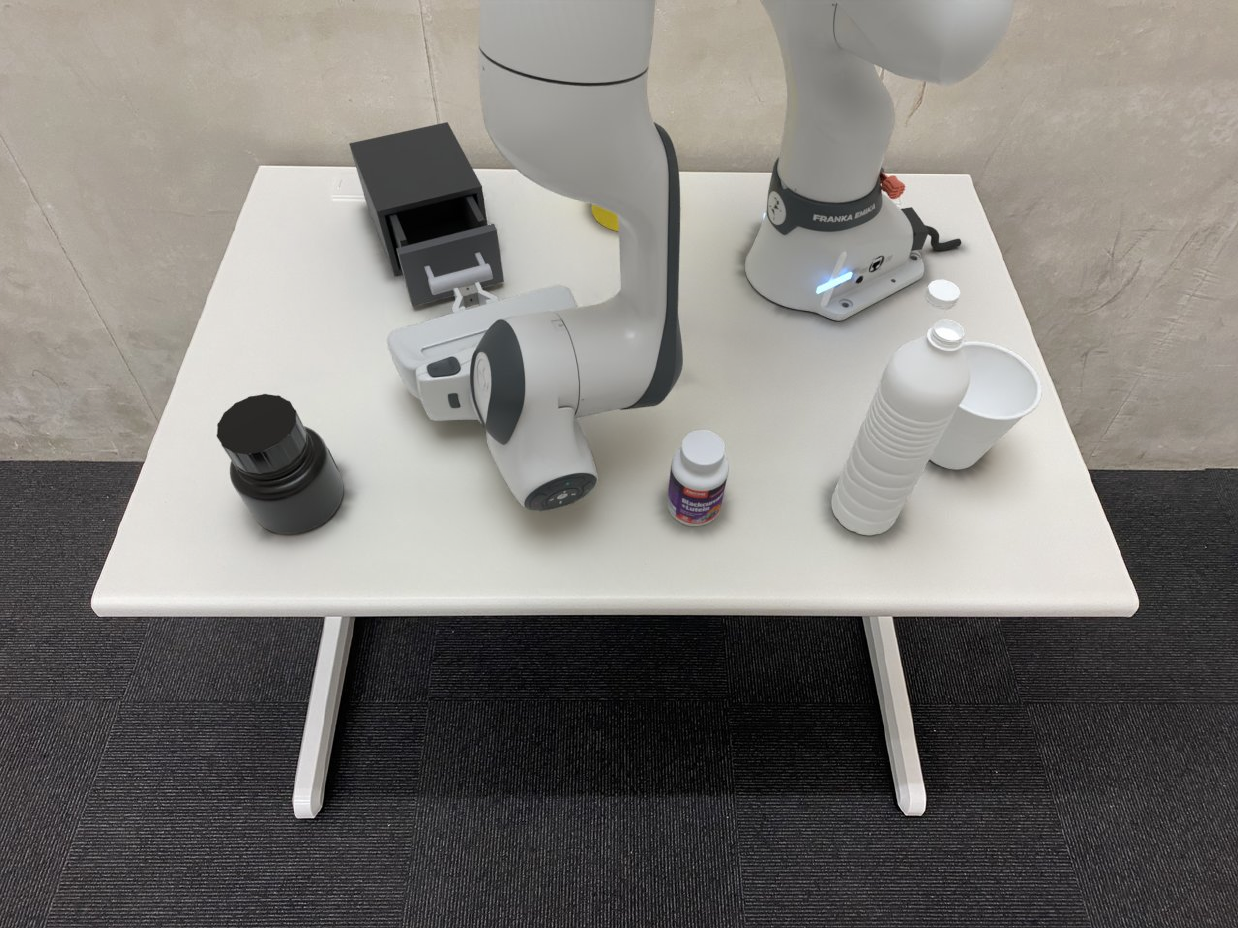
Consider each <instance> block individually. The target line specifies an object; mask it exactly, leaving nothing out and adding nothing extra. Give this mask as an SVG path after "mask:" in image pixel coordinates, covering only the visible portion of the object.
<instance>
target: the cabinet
mask: <svg viewBox="0 0 1238 928" xmlns="http://www.w3.org/2000/svg"><path fill="white" fill-rule="evenodd" d="M348 145H349V148H350V151H351V155H352V158H353V163H354V165H355V169H356V173H357V175H358V179H359V182H360V186H361V189H362V193H363V196H364V200H365V203H366V207H367V210H368V212H369V215H370V218H371V220H372V222H373V225H374V228H375V231H376V234H377V235H378V237H379V240H380V243H381V245H382V248H383V251H384V253H385V256H386V258H387V261H388V263H389V266H390V269H391V271H392V273H393V276H394V277H396V276H401V275H403V272H402V268H401V265H400V261H399V257H398V253H397V250H396V248H395V245H394V243H393V241H392V238H391V236H390V232H389V228H388V225H387V221H386V217H385V215H388V214H392V213H396V212H400V211H404V210H409V209H413V208H417V207H421V206H425V205H429V204H433V203H438V202H442V201H446V200H450V199H454V198H458V197H462V196H466V195H471V194H472V196H473V198H474V200H475V202H476V204H477V206H478V208H479V210H480V212H481V214H482V216H483V218H484V219H485V225H486V226H487V225H489V224H488V218H487V211H486V205H485V198H484V191H483V185H482V183H481V181H480V180H479V178H478V176H477V174H476V172H475V170H474V168H473V166H472V165H471V163H470V161H469V159H468V157H467V156H466V154H465V152H464V150H463V148H462V146H461V145H460V142H459V141H458V138H457V137H456V135H455V133H454V132H453V129H452V127H451V125H450V124H449V122H448V121H446V122H442V123H437V124H431V125H427V126H423V127H418V128H413V129H410V130H405V131H400V132H395V133H391V134H386V135H382V136H381V135H380V136H376V137H372V138H368V139H363V140H358V141H354V142H350V143H349V144H348Z"/></svg>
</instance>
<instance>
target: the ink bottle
mask: <svg viewBox="0 0 1238 928" xmlns="http://www.w3.org/2000/svg"><path fill="white" fill-rule="evenodd" d="M216 425H217V426H216V427H217V430H216V438H217V440H218V441H219V443H220V444H221V447H222V448H223V450H224V451H225V453H226V455H227V456H228V457H229V460H230V463H229V477H230V481H231V484H232V486H233V488H234V489H235V491H236V493H237V494H238V495H239V498H241V500H242V501H243V503H244V504H245V506H246V507H247V509H248V510H249V512H250V513H251V515H252V516H253V518H254V519H255V520H256V522H257V523H258V524H259V525H260V526H261V527H262V528H264V529H266V530H268V531H270V532H272V533H276V534H283V535H284V534H285V535H287V534H288V535H291V534H299V533H304V532H307V531H310V530H313V529H315V528H317V527H319V526H321V525H323V524H324V523H326V522H327V521H328V520H330V518H332V516H333V515H334V514H335V513H336V511H337V510H338V508H339V506H340V504H341V502H342V499H343V496H344V495H343V494H344V483H343V479H342V476H341V474H340V470H339V467H338V465H337V464H336V461H335V459H334V457H333V455H332V452H331V450H330V449H329V448H328V446H327V445H326V443H325V441H324V439H323V437H321V435H320V434H319V433H317V432H316V431H315V430H314V429H312V428H310V427H308V426H305V425H304V424H303V422H302V419H301V418H300V416H299V413H298V412H297V410H296V409H295V408H294V406H293V404H292V402H291V401H290V400H287V399H286V398H284V397H282V396H281V395H275V394H269V393H263V394H256V395H250V396H247V397H246V398H244V399H242V400H240V401H236V402H235V403H234V404H233V405H231V406H230V407H229V408H228V409H227V410H225V411H224V412H223V413H222V415H221V417H220V419H219V421H218V422H217V424H216Z"/></svg>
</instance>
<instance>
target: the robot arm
mask: <svg viewBox="0 0 1238 928" xmlns="http://www.w3.org/2000/svg"><path fill="white" fill-rule="evenodd" d="M1014 1H1015V0H759V2H760V3H761V5H762V6H763V8H764V9H765V12H766V14H767V15H768V18H769V20H770V22H771V26H772V27H773V31H774V33H775V37H776V39H777V42H778V46H779V50H780V55H781V60H782V65H783V70H784V76H785V77H784V78H785V84H786V109H785V119H784V125H783V132H782V139H781V144H780V151H779V154H778V155H779V156H778V157H777V158H776V160H775V161H774V164H773V168H772V172H771V176H770V180H769V184H768V191H767V200H766V211H765V212H764V213H763V220H762V222H761V225H760V228H759V230H758V232H757V235H756V238H755V239H754V242H753V244H752V246H751V248H750V249H749V251H748V252H747V255H746V257H745V261H744V271H745V275H746V278H747V280H748V281H749V283H750V285H751V286H752V287H753V288H754V290H756V291H757V292H758V293H759V294H760V295H761V296H763V297H764V298H766V299H767V300H769V301H771V302H773V303H774V304H777V305H780V306H783V307H785V308H789V309H794V310H798V311H805V312H810V313H811V312H812V313H815V314H818V315H820V316H822V317H825V318H828V319H829V320H833V321H836V322H837V321H839V322H840V321H844V320H846V319H848V318H850V317H852V316H854V315H856V314H857V313H859V312H861V311H862V310H865V309H866V308H869V307H870V306H872V305H874V304H876V303H878V302H880V301H882V300H884V299H885V298H887V297H889V296H892V295H893V294H895V293H897V292H899V291H901V290H903V289H904V288H906V287H908V286H910V285H912V284H914V283H915V282H918V281H919V280H920V279H922V278H923V277H924V273H925V263H924V260H923V258H922V256H921V253H920V252H919V251H922V250H923V248H924V246H925V243H926V241H927V238H928V236H929V237H930V246H931V248H932V249H933V250H936V251H939V252H940V251H947V250H950V249H954V248H957V247H960V246H961V245H962V240H961V238H959V237H958V238H954V239H951V240H948V241H944V242H940V233H939V231H938V230H937V229H936V228H935V227H933V226H931V225H927V224H925V223H924V221H923V220H922V219H921V218H920V216H919V215H918V213H917V212H916V211H915V209H914V208H913V207H912V206H911V207H904V208H900V206H898V205H897V204H896V203H895V202H894V201H893V200H897V199H899V198H901V196H902V195H903V194H904V193H905V191H906V185H905V183H904V182H902V181H901V180H899V179H898V177H897V176H896V175H893V174H892V175H889V176H888V175H887V174H886V173H885V169H884V168H883V163H884V160H885V158H886V153H887V150H888V147H889V144H890V141H891V138H892V135H893V132H894V128H895V123H896V122H895V121H896V111H895V104H894V101H893V98H892V96H891V93H890V91H889V90H888V88H887V86H886V85H885V83H884V82H883V80H882V79H881V77H880V75H879V73H878V71H877V69H876V66H877V67H878V68H881V69H883V70H885V71H887V72H889V73H892V74H893V75H895V76H898V77H901V78H905V79H910V80H914V81H917V82H918V81H919V82H923V83H928V84H934V85H938V86H943V87H944V86H945V87H949V86H953V85H955V84H958V83H959V82H962V81H964V80H965V79H967V78H969V77H970V76H972V75H973V74H974V73H976V72H977V71H978V70H980V69H981V68H982V67H983V66H984V65H985V64H986V63H987V62H988V61H989V60H990V59H991V58H992V56H993V55H994V54H995V52H997V50H998V48H999V47H1000V46H1001V44H1002V42H1003V40H1004V38H1005V35H1006V34H1007V31H1008V29H1009V26H1010V24H1011V20H1012V15H1013V11H1014ZM478 5H479V7H478V31H477V32H478V33H477V34H478V39H477V71H478V72H477V73H478V75H477V76H478V88H479V90H478V91H479V101H480V107H481V114H482V120H483V124H484V127H485V130H486V132H487V133H488V136H489V138H490V140H491V141H492V143H493V145H494V147H495V149H497V151H498V152H499V153H500V155H501V156H502V157H503V158H504V159H505V161H506V162H507V163H508V164H509V165H510V166H511V167H512V168H514V170H516V171H517V172H518V173H520V174H521V175H523V176H524V177H525V178H527V179H528V180H529V181H531V182H532V183H535V184H536V185H538V186H540V187H542V188H544V189H545V190H547V191H549V192H551V193H554V194H557V195H559V196H561V197H565V198H568V199H571V200H574V201H578V202H582V203H586V204H589V205H591V204H592V205H595V206H598V207H601V208H603V209H606V210H608V211H610V212H613V213H615V214H617V217H618V226H619V231H618V249H619V250H618V251H619V252H618V253H619V272H620V274H619V275H620V276H619V277H620V289H619V290H618V291H617V292H616V294H614V295H613V296H612V297H610V298H609V299H607V300H605V301H603V302H601V303H596V304H591V305H585V306H578V305H577V302H576V299H575V296H574V294H573V293H572V290H571V289H570V288H569V287H567V286H565V285H562V284H554V285H551V286H546V287H543V288H540V289H536V290H531V291H528V292H525V293H522V294H518V295H514V296H511V297H507V298H504V299H499V298H498V296H497V295H495V294H492V293H491V292H489V291H487V290H483V288H481V285H480V283H479V282H477V283H473V284H470V285H466V286H462V287H458V288H454V289H453V291H454V296H453V297H454V299H455V300H454V302H453V305H452V307H451V312H452V313H450V314H445V315H442V316H439V317H434V318H431V319H428V320H424V321H421V322H417V323H413V324H409V325H406V326H402V327H398V328H395V329H393V330H391V331H390V332H389V334H388V335H387V337H386V344H387V348H388V351H389V354H390V356H391V360H392V362H393V365H394V367H395V370H396V371H397V374H398V376H399V377H400V379H401V381H402V383H403V384H404V386H405V388H406V389H407V390H408V392H409V393H410V394H411V395H412V396H413V397H414V398H416V399H418V400H420V403H421V405H422V407H423V410H424V411H425V413H426V415H427V417H428V418H429V420H431V421H434V422H444V421H462V420H463V421H466V420H469V421H470V420H471V421H478V422H479V423H480V424H481V425H482V427H483V429H484V430H485V433H486V435H485V438H486V443H487V446H488V449H489V451H490V453H491V456H492V458H493V460H494V462H495V464H496V467H497V469H498V471H499V472H500V475H501V476H502V478H503V480H504V482H505V484H506V485H507V487H508V489H509V490H510V492H511V493H512V495H513V496H514V498H515V499H516V500H517V501H518V502H519V504H520V505H521V506H522V507H524V508H525V509H527V510H529V511H537V512H544V511H550V510H555V509H559V508H563V507H566V506H569V505H572V504H575V503H576V502H578V501H580V500H581V499H583V498H584V497H586V496H588V494H589V493H590V492H591V491H592V490H593V489H594V488H595V487H596V485H597V483H598V480H599V479H598V478H599V477H598V471H597V467H596V463H595V460H594V457H593V455H592V452H591V448H590V446H589V443H588V440H587V438H586V436H585V433H584V431H583V429H582V426H581V424H580V422H579V420H578V418H584V417H588V416H593V415H598V414H603V413H607V412H612V411H617V410H621V411H624V410H633V409H642V408H650V407H657V406H658V405H660V404H662V403H663V402H664V401H665V399H666V398H667V397H668V396H669V394H670V393H671V392H672V390H673V389H674V387H675V385H676V384H677V382H678V381H679V378H680V375H681V372H682V370H683V362H684V355H683V351H684V350H683V343H682V342H683V341H682V334H681V327H680V320H679V319H680V318H679V291H680V290H679V288H680V287H679V285H680V248H681V247H680V245H681V182H680V170H679V163H678V162H679V161H678V157H677V153H676V149H675V145H674V143H673V140H672V138H671V136H670V135H669V133H668V132H667V130H666V129H665V128H664V127H662V126H661V125H660V124H658V123H657V122H656V121H654V120H653V115H652V113H651V109H650V103H649V94H648V77H649V68H650V67H649V66H650V61H651V60H650V59H651V53H652V52H651V51H652V44H653V34H654V22H655V13H656V11H655V10H656V0H479V4H478ZM883 192H884V193H883ZM477 305H479V306H477ZM474 306H475V307H474ZM470 307H471V308H470ZM467 308H468V309H467Z"/></svg>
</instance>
